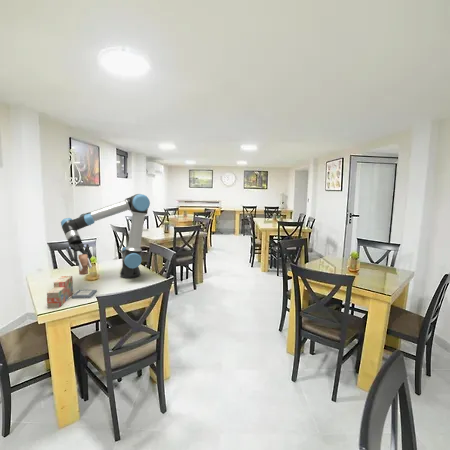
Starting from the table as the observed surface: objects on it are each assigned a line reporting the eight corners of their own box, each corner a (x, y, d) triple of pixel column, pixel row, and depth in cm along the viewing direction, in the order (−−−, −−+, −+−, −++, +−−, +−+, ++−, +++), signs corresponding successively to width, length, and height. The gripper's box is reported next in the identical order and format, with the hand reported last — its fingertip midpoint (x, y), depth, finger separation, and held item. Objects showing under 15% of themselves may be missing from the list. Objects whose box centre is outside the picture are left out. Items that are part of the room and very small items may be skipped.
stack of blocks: (59, 308, 156) (58, 287, 154) (47, 308, 155) (46, 287, 153) (73, 294, 177) (72, 275, 175) (62, 294, 176) (61, 275, 174)
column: (89, 272, 176) (88, 254, 175) (86, 274, 172) (85, 256, 170) (81, 272, 176) (80, 254, 174) (77, 274, 171) (77, 256, 169)
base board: (96, 291, 181) (96, 289, 181) (90, 298, 171) (90, 295, 170) (79, 291, 180) (79, 289, 180) (71, 298, 169) (71, 295, 169)
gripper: (86, 240, 188) (98, 268, 180) (57, 244, 174) (69, 274, 166) (89, 233, 184) (102, 262, 176) (60, 237, 170) (72, 268, 162)
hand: (86, 268), depth 171 cm, fingers closed on column, 5 cm apart
